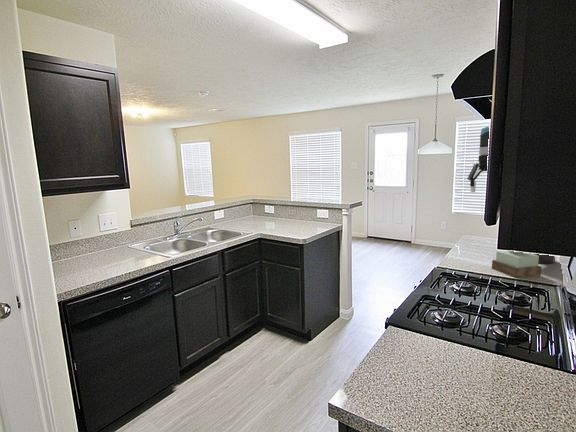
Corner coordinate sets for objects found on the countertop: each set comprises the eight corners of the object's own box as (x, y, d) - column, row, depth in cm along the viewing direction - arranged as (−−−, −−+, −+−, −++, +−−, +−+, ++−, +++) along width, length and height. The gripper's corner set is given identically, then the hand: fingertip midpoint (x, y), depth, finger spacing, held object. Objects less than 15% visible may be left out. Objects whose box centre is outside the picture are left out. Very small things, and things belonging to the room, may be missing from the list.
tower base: (515, 267, 168) (516, 258, 167) (540, 276, 154) (541, 266, 153) (491, 269, 166) (492, 260, 165) (514, 278, 152) (515, 268, 151)
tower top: (515, 258, 166) (516, 249, 165) (537, 265, 155) (539, 255, 154) (495, 260, 164) (496, 251, 163) (517, 268, 152) (518, 257, 151)
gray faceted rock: (512, 256, 155) (528, 242, 151) (498, 244, 162) (514, 230, 157) (520, 260, 159) (536, 246, 155) (507, 248, 166) (522, 234, 161)
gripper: (500, 154, 190) (497, 190, 194) (462, 155, 186) (459, 191, 190) (511, 154, 183) (507, 191, 186) (471, 154, 179) (468, 192, 182)
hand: (483, 192), depth 188 cm, fingers open, 13 cm apart
